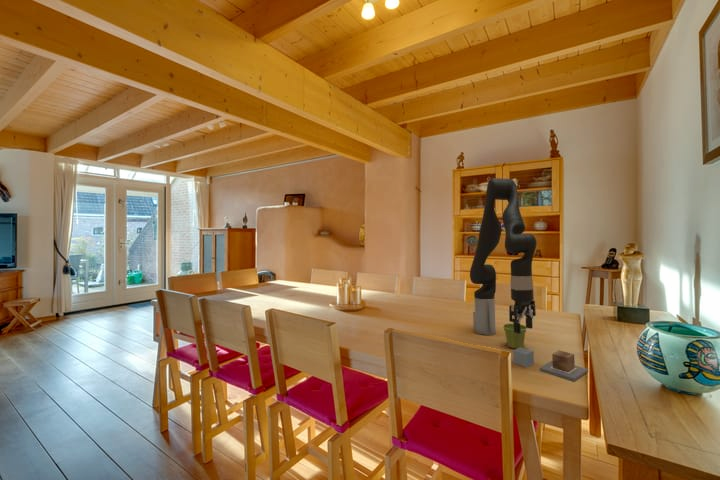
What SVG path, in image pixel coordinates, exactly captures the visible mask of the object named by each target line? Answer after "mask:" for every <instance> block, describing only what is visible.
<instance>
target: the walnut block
mask: <svg viewBox="0 0 720 480" xmlns="http://www.w3.org/2000/svg"><path fill="white" fill-rule="evenodd" d="M551 355H552V356H551V357H552V360H551V361H552V362H553V368H555V369H558V370H562V371H565V372H570V371H571V370H573V369H574V368H575V366H576V365H575V354H574V353H570V352H568V351H563V350H561V349H560V350H559V349H558V350H557V351H555V352H553V353H551Z"/></svg>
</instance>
